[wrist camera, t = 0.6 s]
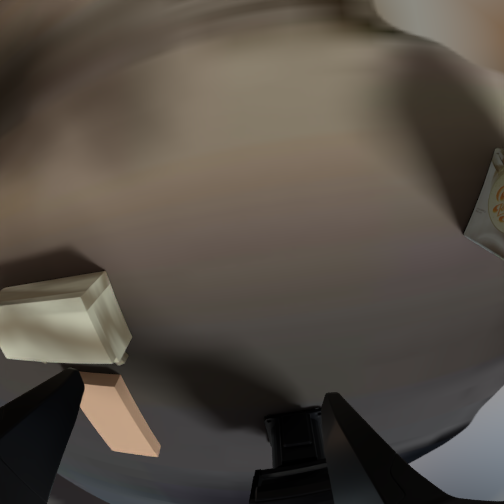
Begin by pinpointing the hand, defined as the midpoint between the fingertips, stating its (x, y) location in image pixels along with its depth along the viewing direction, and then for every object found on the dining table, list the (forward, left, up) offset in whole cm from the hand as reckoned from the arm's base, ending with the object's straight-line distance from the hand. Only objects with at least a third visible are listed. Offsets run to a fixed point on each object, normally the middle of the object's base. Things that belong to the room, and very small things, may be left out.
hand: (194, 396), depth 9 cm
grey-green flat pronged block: (-4, +18, -14) cm, 23 cm away
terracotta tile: (-18, +18, -14) cm, 29 cm away
